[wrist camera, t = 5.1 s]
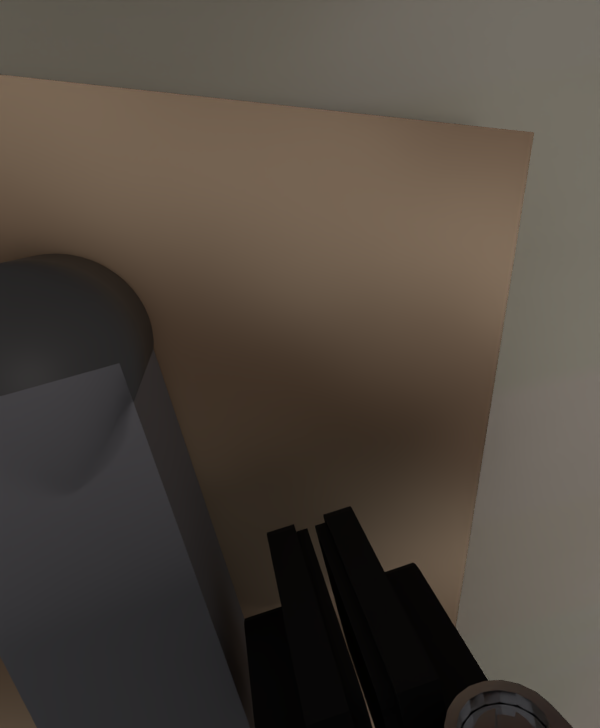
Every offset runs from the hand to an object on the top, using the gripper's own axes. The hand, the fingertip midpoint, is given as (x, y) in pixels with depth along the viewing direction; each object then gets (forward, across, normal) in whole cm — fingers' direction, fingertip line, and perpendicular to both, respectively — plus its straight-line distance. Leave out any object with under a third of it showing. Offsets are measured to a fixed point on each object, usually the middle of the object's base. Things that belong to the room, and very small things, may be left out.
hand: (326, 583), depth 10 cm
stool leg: (+1, +3, +2) cm, 4 cm away
